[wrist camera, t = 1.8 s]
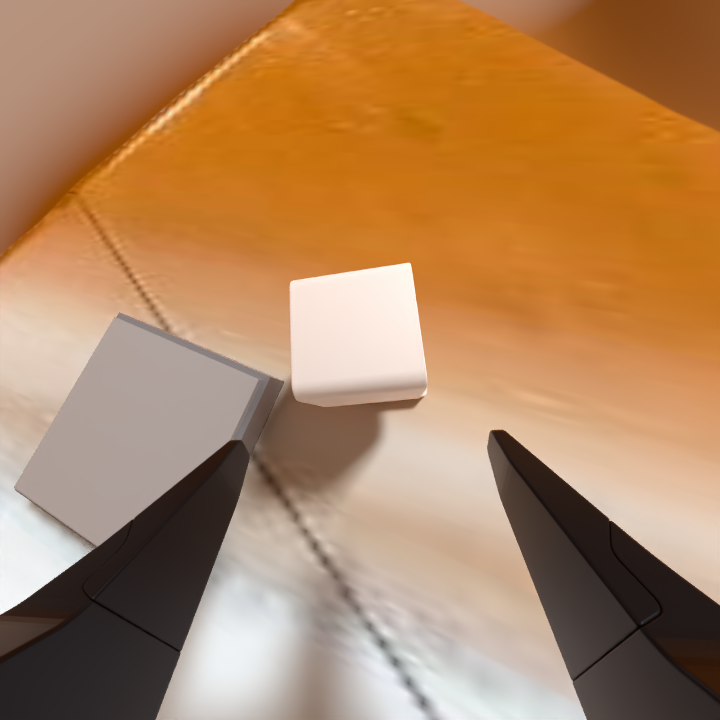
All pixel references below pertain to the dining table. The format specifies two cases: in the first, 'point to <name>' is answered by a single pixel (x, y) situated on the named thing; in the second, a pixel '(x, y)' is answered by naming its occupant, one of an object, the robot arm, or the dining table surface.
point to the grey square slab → (141, 426)
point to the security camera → (356, 338)
